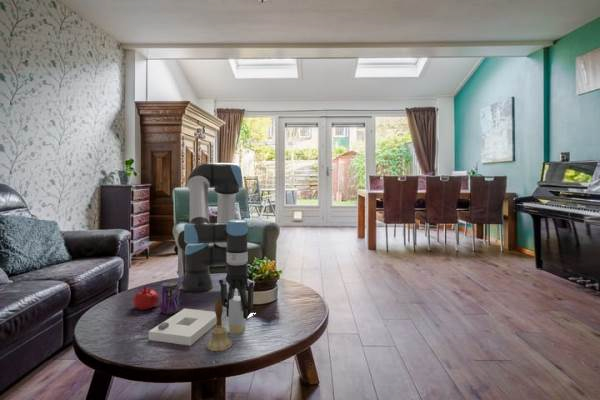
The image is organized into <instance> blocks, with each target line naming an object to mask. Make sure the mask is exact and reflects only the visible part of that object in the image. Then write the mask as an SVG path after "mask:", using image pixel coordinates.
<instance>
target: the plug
mask: <svg viewBox="0 0 600 400" xmlns="http://www.w3.org/2000/svg"><path fill="white" fill-rule="evenodd" d="M242 309H243V308H242V303H241V297H240V295H234V296H233V297H232V298H231V299H230V300H229V317H228V332H229V333H232V334H238V335H240V334H241V333H242V332H243V331H244V330H245V328H246V325H245V326H244V327H243V328H241V310H242Z"/></svg>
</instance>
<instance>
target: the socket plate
mask: <svg viewBox="0 0 600 400" xmlns="http://www.w3.org/2000/svg"><path fill="white" fill-rule="evenodd" d="M216 323H217V317H216V313H215V311H211V310H210V311H209V310H202V309H192V308H186V307H185V308H182V310H179V311H177V312H176V313H174V315H172V316H170V317H169V318H167V319H166V320H165V321H162V322H161V323H160V324H157V326H156V325H155V327H152V329H150V330H149V331H148V340H149V341H154V342H155V341H156V342H160V343H169V344H176V345H182V346H183V345H184V346H189V347H191V346H192V345H193V344H194V343H196V342H197V341H198V340H199V339H200V338H201V337H203V336H205V334H206V333H207V332H209V331H210V330H211V329H212V328H213V327H214V326H217V325H216Z"/></svg>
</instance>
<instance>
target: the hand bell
mask: <svg viewBox="0 0 600 400" xmlns="http://www.w3.org/2000/svg"><path fill="white" fill-rule="evenodd" d="M223 309H224V306H223V305H222V302H221V297H217V298H216V302H215V303H214V312H215V313H216V317H217V323H216V325H215V326H216V327H215V328H213V329H212V332H211V337H210V340H209V341H208V343H207V344H206V349H207V350H209V351H211V352H222V351H225V350H229V349H230V348H231V347H232V346H233V342H232V340H231V339H229V336H228V335H227V329H226V328H225V327H223V323H222V315H223V311H224V310H223Z"/></svg>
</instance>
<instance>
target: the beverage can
mask: <svg viewBox="0 0 600 400" xmlns="http://www.w3.org/2000/svg"><path fill="white" fill-rule="evenodd" d="M179 311H180V287H179V285H178V282H177V281H172V280H171V281H165V282H162V283H161V287H160V313H163V314H165V315H172V314H176V313H178V312H179Z"/></svg>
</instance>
